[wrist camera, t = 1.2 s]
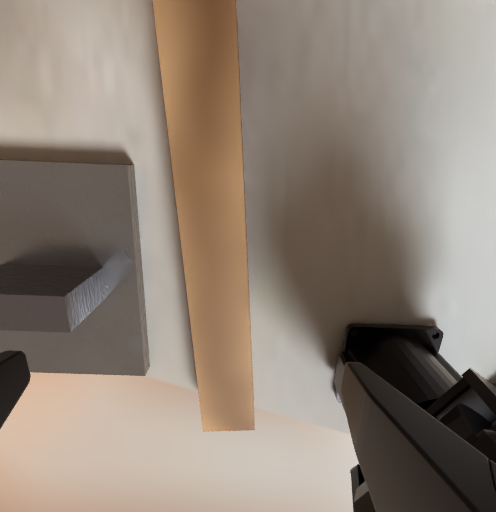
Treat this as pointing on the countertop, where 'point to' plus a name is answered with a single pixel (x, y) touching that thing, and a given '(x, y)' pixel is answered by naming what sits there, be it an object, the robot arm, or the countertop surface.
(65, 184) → the ridge stand
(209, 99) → the oak rod
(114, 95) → the countertop surface
